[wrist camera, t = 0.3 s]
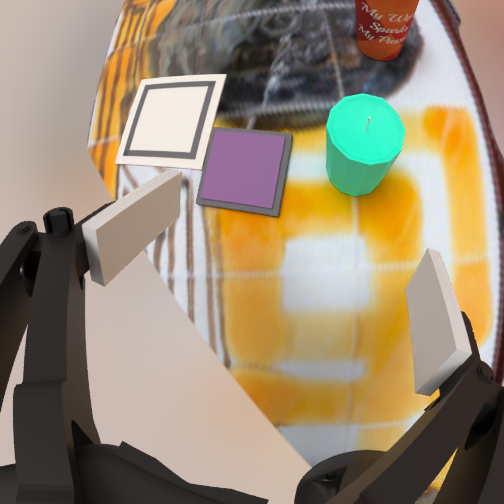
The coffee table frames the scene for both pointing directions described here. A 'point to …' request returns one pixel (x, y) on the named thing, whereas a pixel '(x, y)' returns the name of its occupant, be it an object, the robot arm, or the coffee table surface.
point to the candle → (362, 143)
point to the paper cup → (383, 26)
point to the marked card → (172, 121)
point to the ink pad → (245, 170)
